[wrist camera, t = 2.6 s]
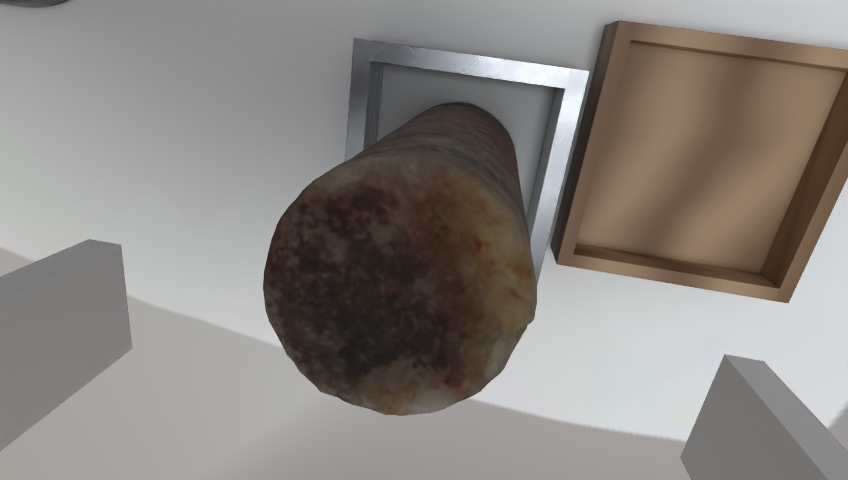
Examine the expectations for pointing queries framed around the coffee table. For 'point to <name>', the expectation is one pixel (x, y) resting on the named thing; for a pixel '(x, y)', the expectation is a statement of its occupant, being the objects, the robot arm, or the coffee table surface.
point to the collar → (565, 80)
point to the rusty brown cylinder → (407, 266)
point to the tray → (705, 160)
